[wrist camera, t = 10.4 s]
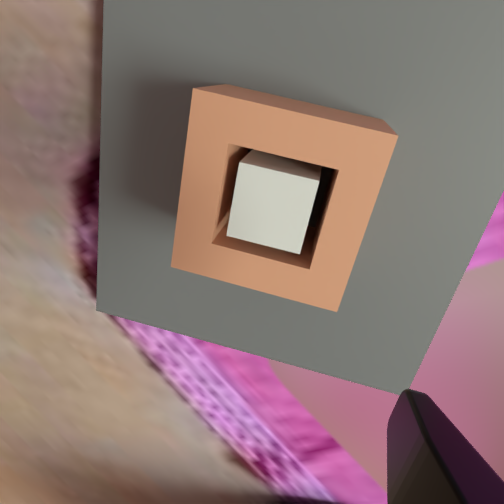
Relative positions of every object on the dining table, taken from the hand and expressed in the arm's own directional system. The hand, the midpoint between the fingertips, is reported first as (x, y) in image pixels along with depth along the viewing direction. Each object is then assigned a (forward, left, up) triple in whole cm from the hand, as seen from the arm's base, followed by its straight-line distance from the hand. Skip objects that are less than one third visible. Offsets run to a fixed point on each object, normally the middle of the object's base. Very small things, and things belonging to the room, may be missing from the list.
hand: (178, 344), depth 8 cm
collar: (+1, +1, -10) cm, 10 cm away
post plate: (+1, +1, -11) cm, 11 cm away
